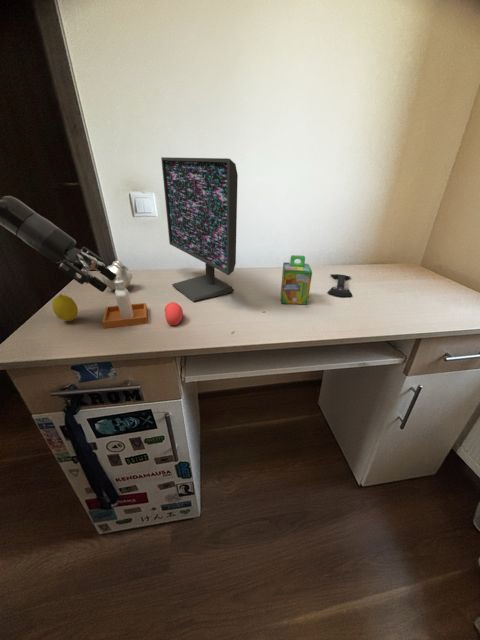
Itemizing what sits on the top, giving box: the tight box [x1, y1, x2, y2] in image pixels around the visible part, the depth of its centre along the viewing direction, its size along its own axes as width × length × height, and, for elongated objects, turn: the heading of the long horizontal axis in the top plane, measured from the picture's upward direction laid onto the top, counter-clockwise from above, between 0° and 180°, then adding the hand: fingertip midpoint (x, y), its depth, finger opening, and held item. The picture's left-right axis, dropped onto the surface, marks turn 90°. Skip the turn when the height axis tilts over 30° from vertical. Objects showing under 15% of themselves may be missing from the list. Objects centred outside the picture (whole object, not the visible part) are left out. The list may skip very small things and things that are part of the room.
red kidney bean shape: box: [164, 301, 184, 326], centre depth 82 cm, size 5×9×6 cm
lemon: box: [51, 294, 79, 322], centre depth 78 cm, size 6×6×8 cm
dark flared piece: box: [327, 273, 353, 298], centre depth 111 cm, size 9×25×3 cm, turn 166°
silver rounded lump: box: [101, 259, 133, 291], centre depth 98 cm, size 9×10×10 cm
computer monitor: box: [160, 156, 239, 302], centre depth 92 cm, size 44×16×40 cm, turn 37°
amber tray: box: [101, 302, 148, 329], centre depth 82 cm, size 11×10×2 cm
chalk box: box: [280, 254, 313, 306], centre depth 95 cm, size 9×9×15 cm
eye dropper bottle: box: [114, 276, 134, 319], centre depth 79 cm, size 4×6×12 cm
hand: (110, 283), depth 76 cm, fingers open, 8 cm apart
